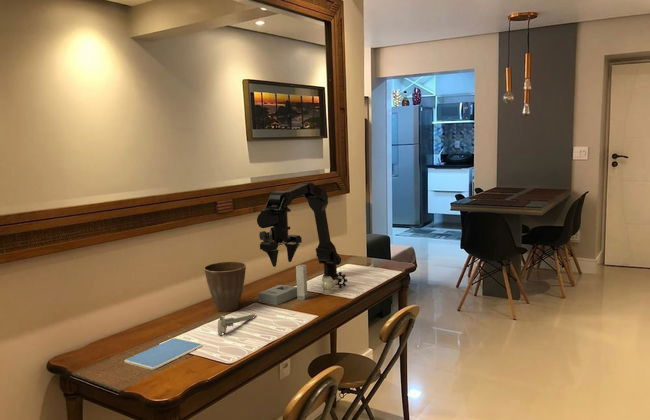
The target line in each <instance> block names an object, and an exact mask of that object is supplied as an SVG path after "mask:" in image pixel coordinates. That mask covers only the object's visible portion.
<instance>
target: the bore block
mask: <svg viewBox="0 0 650 420" xmlns="http://www.w3.org/2000/svg"><path fill="white" fill-rule="evenodd" d="M257 295H258V297H257V298H258V302H259V303H264V304H268V305H269V304H270V305H274V306H278V305H280V304H283V303H285V302H287V301H290V300H292V299H295V298H296V297H297V286H291V285H286V284H278V285H275V286H273V287H270V288H268V289H265V290H262V291H259V292H258V293H257Z"/></svg>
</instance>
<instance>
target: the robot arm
mask: <svg viewBox="0 0 650 420" xmlns="http://www.w3.org/2000/svg"><path fill="white" fill-rule="evenodd" d="M302 196H303V197H304V198H305V199H306V200H307V202H308V206H309V209H311V210H312V212H313V214H314V220H315V227H316V231H317V236H318V237H317V238H318V245H317V247H315V252H316V253H315V254H316V257H317V260H318V263H319V264H323V274H322V277H325V276H330V277H332V280H333V278H335V277H336V276H335V275H334V274H336V273H337V274H338V269H337V265H338V266H339V265H340V264H341V263H342V257H341V256H340V255H339V254H338V253H337V249H336V246H335V244H334V243H333V242H332V241H331V236H330V231H329V224H328V218H327V211H326V209H327V207H328V204H329V199H328V198H329V197H328V193H327V192H326V191H325V190H323V189H322V188H320V187H319V186H317V185H316V184H315V183H313V182H311V181H310V182H307V181H305V182H301V183H300V184H297V185H295V186H292V187H290V188H288V189H286V190H278V191H277V190H276V191H272V192H271V193H269V197H268V199H267V202H266V204H265V206H264V208H263V209H260V213H258V215H257V218H256V222H257V225H258V227H259V228H261V229H266V228H267V229H268V228H269V229H270V230H269V231H267V232H266V230H262V231H259V234H258V235H259V240H260V241H261V242H260V243H259V250H260V251H261V250H262V251H263V252H265V253H267V256H268V258H269V261H270V262H271V265H272V267H274V268H275V267H277V262H278V255H279V249H278V248H279V246H282V245H284V246H285V247H286V252H287V253H286V254H287V255H286V256H287V260H288V263H291V262H292V260H293V258H294V256H295V255H296V252H297V250H298V248H299V246H300V245H301V243H303V240H302V237H301V235H299V234H298V235H297V234H289V230H291V226H289V222H288V221H289V220H288V219H289V218H288V217H289V216H288V213H289V212H291V211H292V210H291V208H290V207H289V206H290V205H291V204H292V203H293V201H294V200H295V199H298V198H300V197H302Z"/></svg>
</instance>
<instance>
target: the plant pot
mask: <svg viewBox="0 0 650 420" xmlns="http://www.w3.org/2000/svg"><path fill="white" fill-rule="evenodd" d="M246 268H247V265H246V263H244V262H241V261H222V262H214V263H210V264H208V265H206V266H204V268H203V269H204V274H205V279H206V283H207V287H208V289H209V293H210V296H211V298H212V300H213V303H214V306H215V307H216V309H217V311H219V312H221V313H222V312H223V313H226V312H227V311H228V312H234V311H236V310H237V309H239V308H238V307H239V305H240V302H241V299H242V294H243V289H244V284H245V280H246V279H245V278H246V270H247V269H246ZM225 311H226V312H225ZM228 312H227V313H228Z"/></svg>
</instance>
